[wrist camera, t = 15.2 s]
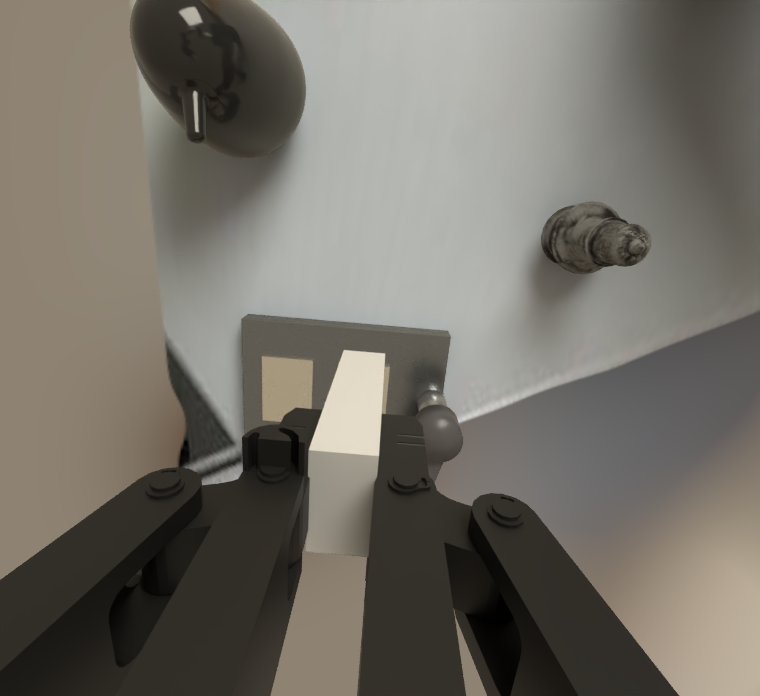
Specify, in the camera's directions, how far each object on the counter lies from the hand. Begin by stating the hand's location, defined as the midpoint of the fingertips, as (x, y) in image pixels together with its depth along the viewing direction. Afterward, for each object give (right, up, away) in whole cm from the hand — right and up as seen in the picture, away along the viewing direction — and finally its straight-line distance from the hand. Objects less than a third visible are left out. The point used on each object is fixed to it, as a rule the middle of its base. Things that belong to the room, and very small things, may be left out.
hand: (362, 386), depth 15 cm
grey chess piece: (+18, +12, +24) cm, 32 cm away
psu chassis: (-3, -3, +29) cm, 29 cm away
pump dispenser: (-10, +23, +21) cm, 32 cm away
